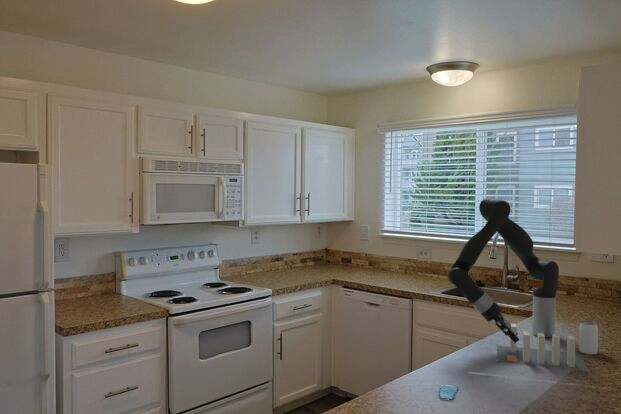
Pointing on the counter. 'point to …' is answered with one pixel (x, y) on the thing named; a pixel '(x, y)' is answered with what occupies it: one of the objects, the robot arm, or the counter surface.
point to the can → (588, 337)
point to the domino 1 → (512, 343)
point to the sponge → (447, 391)
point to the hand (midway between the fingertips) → (516, 338)
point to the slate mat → (517, 358)
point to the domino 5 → (570, 351)
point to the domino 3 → (541, 348)
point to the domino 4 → (555, 349)
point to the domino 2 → (526, 346)
